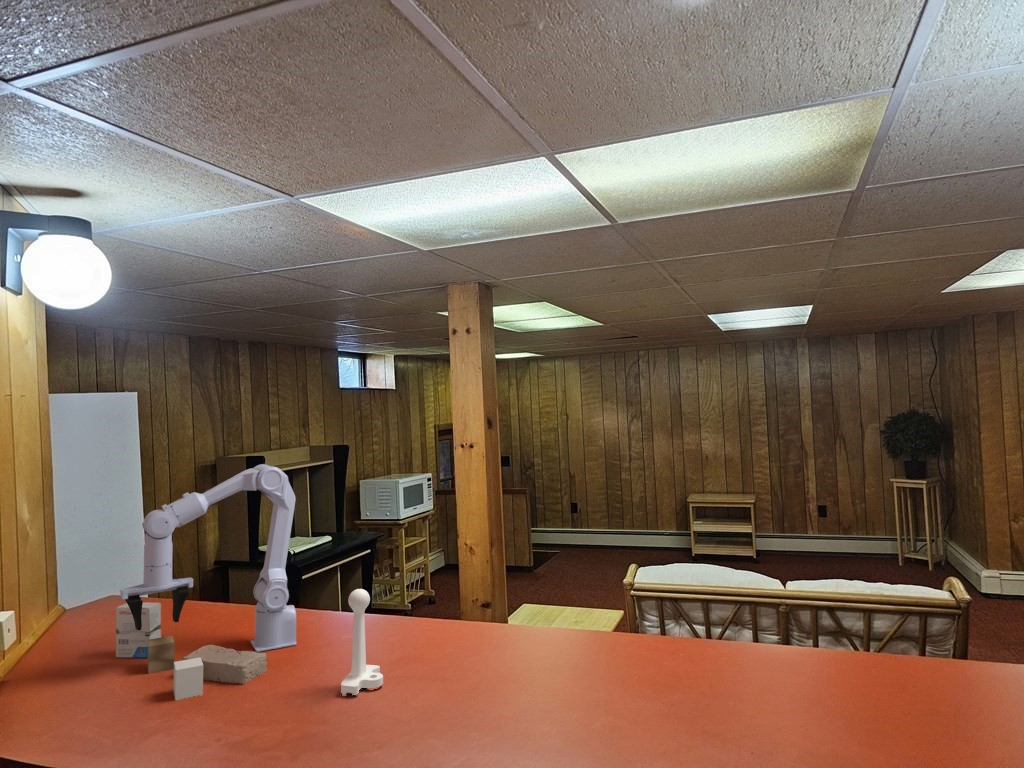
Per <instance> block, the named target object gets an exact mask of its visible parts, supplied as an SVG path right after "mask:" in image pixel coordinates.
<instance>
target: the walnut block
mask: <svg viewBox="0 0 1024 768" xmlns="http://www.w3.org/2000/svg"><path fill="white" fill-rule="evenodd" d="M174 662H175V640H174V636H173V635H169V636H163V637H162V636H161V638H156V639H149V640H148V658H147V663H146V665H147V671H148V673H147V674H148V675H151V674H156V673H162V672H165V671H166V672H168V671H171V670H173V671H174Z"/></svg>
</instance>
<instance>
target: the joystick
mask: <svg viewBox="0 0 1024 768" xmlns="http://www.w3.org/2000/svg"><path fill="white" fill-rule="evenodd" d="M370 596H371V595H370V594H369V592H368V591H367V590H365V589H363V588H356V589H354V590H353V591H351V592H350V594H349V596H348V606H349V607H350V608H351V610H352V611H353V624H352V625H353V626H352V629H353V630H352V647H351V648H352V649H351V650H352V651H351V670H350V672H349V673H348V674H347V675H346V676H345V677H344V678H343V679H342V682H341V683H340V694H341V693H342V694H346V693H347V694H352V695H351V696H353V695H356V694H358V693H359V692H360V691H361V690H362V689H361V688H376V687H379V686H381V685H382V684H383V685H384V675H383V673H381V672H380V671H381V667H380V665H376V664H375V665H373V664H367V654H366V648H367V647H366V626H365V625H366V621H365V619H366V618H365V611H366V609H367V607H368V606H369V604H370V603H371V602H370V601H371V597H370ZM360 689H361V690H360ZM359 690H360V691H359ZM358 695H359V694H358ZM356 696H357V695H356Z"/></svg>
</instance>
